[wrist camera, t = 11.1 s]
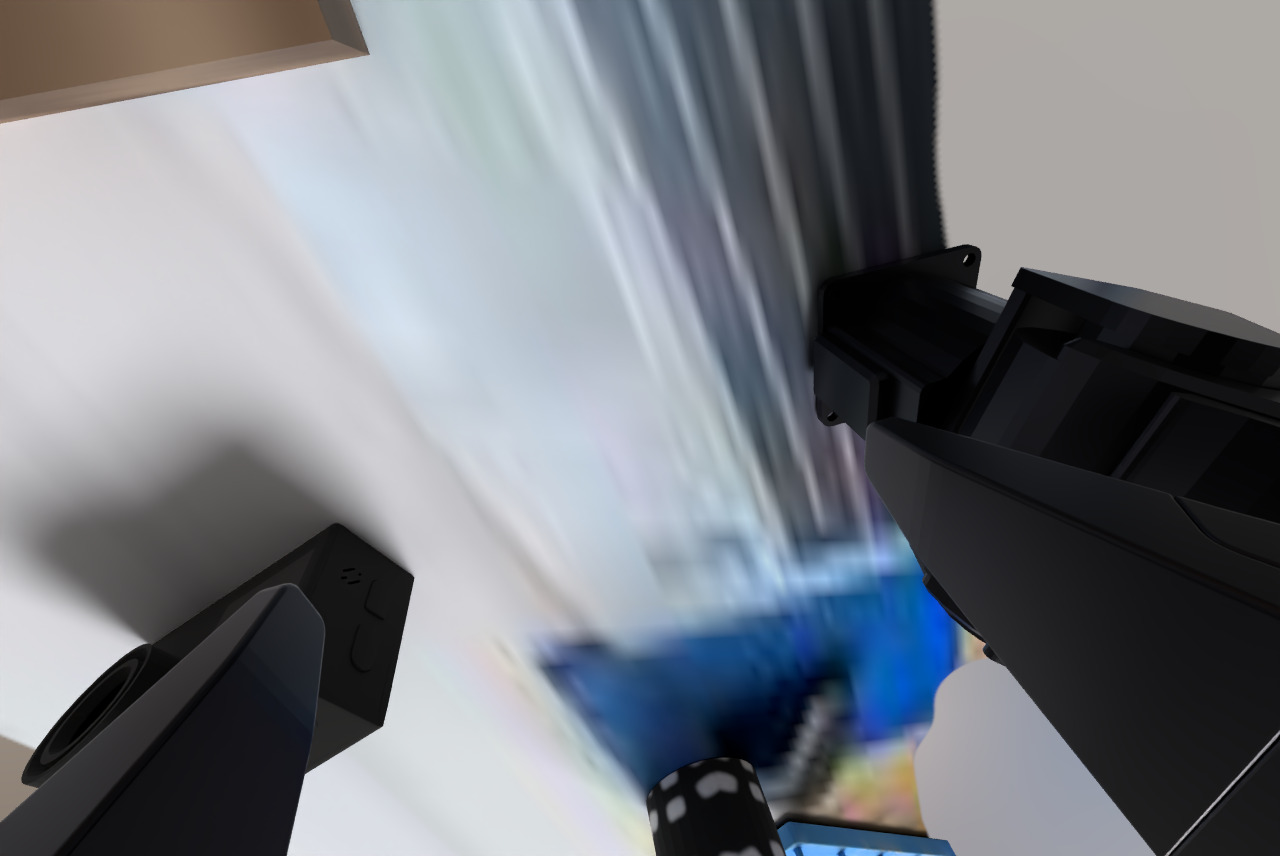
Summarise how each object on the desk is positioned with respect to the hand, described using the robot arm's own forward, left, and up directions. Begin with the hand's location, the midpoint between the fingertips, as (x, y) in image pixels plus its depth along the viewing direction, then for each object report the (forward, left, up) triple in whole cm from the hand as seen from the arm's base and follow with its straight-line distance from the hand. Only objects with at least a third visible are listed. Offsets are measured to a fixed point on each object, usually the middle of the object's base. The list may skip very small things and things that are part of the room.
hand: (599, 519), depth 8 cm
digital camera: (+15, +10, -12) cm, 22 cm away
